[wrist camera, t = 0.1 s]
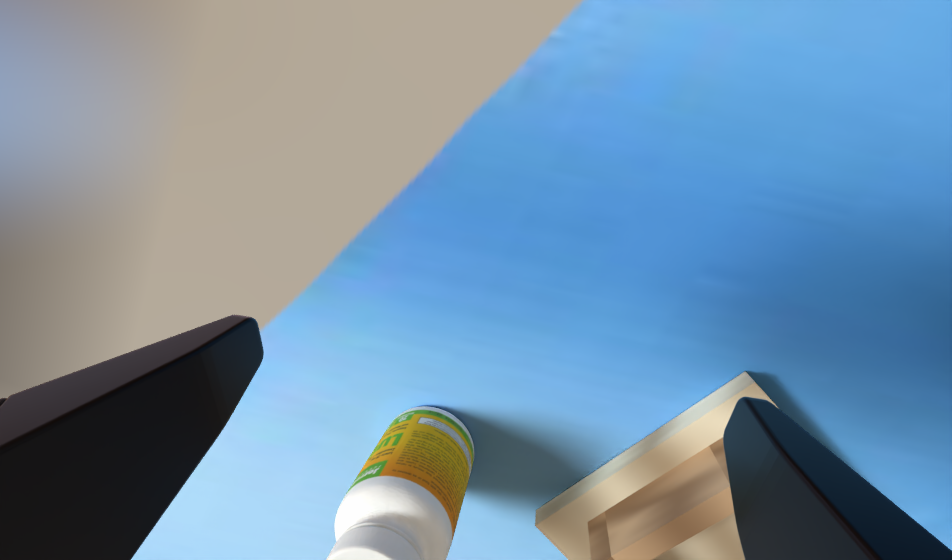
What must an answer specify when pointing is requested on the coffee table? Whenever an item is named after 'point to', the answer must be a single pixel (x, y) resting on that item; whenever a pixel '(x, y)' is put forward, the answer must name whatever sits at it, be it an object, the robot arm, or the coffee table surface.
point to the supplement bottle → (407, 491)
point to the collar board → (657, 493)
